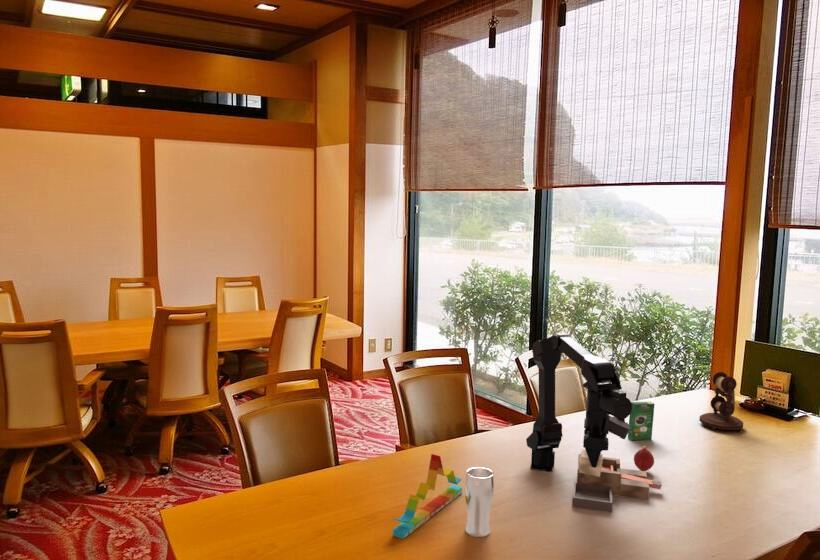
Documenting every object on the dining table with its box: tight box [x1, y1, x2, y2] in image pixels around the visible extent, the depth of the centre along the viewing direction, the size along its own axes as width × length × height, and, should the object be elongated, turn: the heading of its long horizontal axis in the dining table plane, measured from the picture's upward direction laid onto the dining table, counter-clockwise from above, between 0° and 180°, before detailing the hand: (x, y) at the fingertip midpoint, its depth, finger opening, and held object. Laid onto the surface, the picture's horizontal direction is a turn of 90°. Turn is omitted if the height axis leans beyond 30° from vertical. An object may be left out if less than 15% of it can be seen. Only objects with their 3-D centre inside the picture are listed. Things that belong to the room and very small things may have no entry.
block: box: [579, 448, 604, 477], centre depth 177 cm, size 6×6×4 cm
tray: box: [571, 481, 614, 513], centre depth 177 cm, size 10×10×3 cm
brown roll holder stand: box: [698, 371, 744, 432], centre depth 241 cm, size 15×15×20 cm
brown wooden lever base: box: [576, 453, 650, 501], centre depth 187 cm, size 19×12×6 cm, turn 74°
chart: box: [392, 453, 463, 540], centre depth 168 cm, size 30×3×15 cm, turn 148°
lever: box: [601, 465, 663, 490], centre depth 186 cm, size 20×7×2 cm, turn 74°
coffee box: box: [627, 401, 656, 441], centre depth 226 cm, size 8×3×13 cm, turn 103°
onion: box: [633, 445, 655, 472], centre depth 198 cm, size 6×6×8 cm
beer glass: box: [464, 466, 495, 538], centre depth 159 cm, size 7×7×15 cm
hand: (593, 463), depth 176 cm, fingers closed on block, 5 cm apart
